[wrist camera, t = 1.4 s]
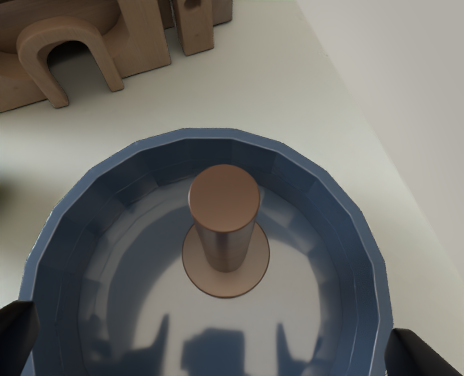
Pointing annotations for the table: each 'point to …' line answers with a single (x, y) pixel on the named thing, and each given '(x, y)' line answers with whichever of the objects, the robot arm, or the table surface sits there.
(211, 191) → the brown wooden peg
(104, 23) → the wooden puzzle
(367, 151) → the table surface
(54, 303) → the bowl
